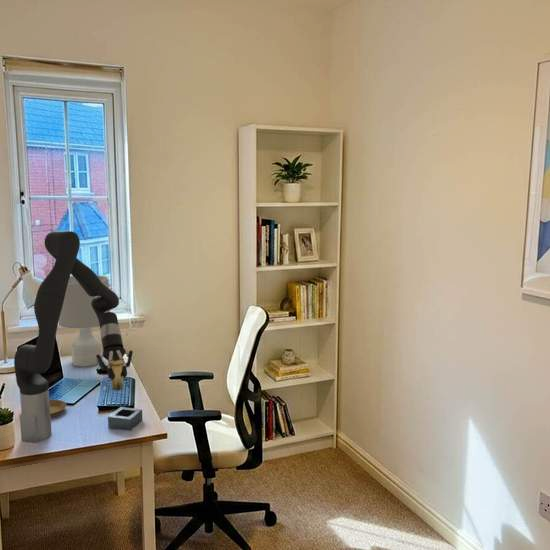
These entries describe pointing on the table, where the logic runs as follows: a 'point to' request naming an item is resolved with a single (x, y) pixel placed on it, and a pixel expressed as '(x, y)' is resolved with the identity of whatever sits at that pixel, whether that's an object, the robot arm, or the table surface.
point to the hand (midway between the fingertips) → (118, 377)
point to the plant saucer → (56, 407)
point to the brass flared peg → (117, 373)
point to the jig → (125, 418)
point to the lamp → (81, 322)
